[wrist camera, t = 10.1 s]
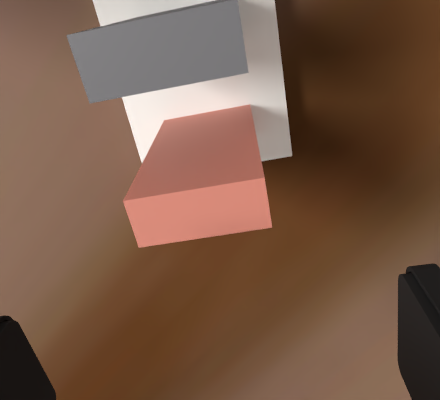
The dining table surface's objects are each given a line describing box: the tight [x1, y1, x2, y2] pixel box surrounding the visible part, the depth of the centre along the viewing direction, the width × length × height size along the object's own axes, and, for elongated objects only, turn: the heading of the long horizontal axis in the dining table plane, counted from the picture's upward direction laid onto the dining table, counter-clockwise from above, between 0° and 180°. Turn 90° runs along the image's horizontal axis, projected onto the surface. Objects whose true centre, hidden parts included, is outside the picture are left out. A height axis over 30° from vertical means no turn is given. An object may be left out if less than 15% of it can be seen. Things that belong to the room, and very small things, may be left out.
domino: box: [67, 0, 249, 103], centre depth 16 cm, size 2×5×10 cm, turn 101°
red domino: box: [123, 104, 272, 247], centre depth 19 cm, size 2×5×10 cm, turn 101°
